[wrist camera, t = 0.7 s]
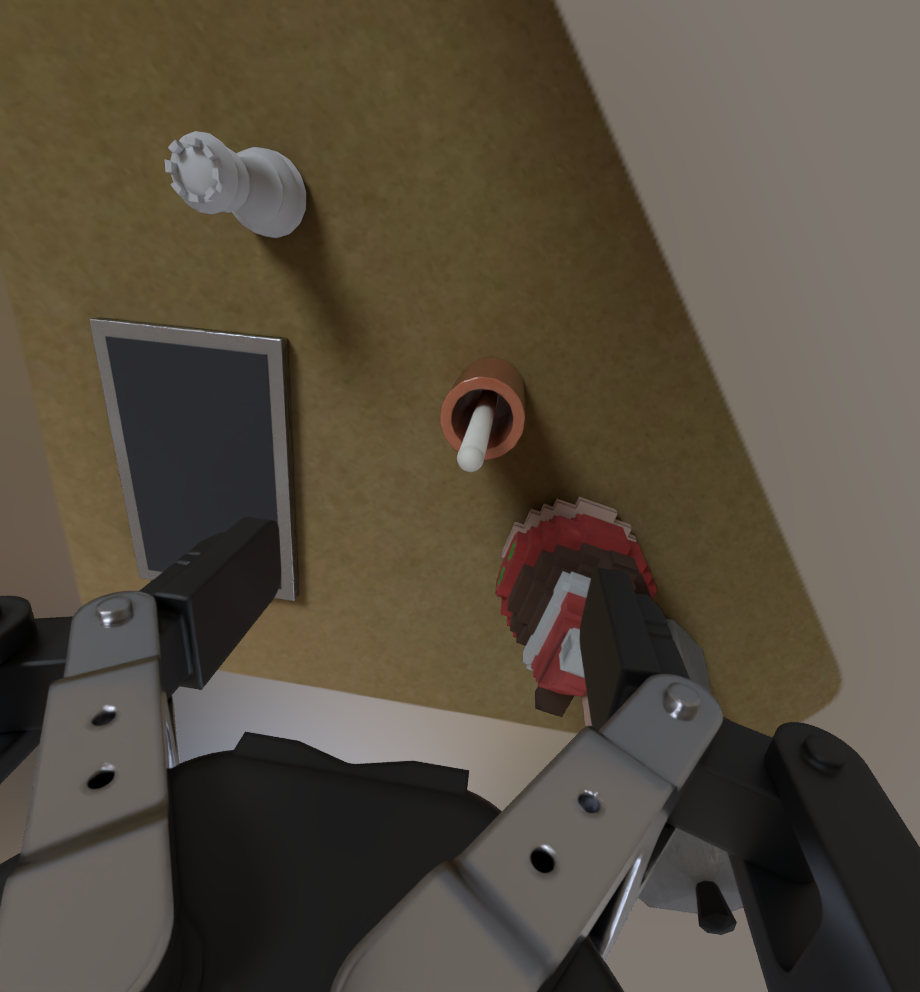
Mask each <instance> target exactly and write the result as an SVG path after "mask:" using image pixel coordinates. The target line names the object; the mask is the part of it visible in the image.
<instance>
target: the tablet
mask: <svg viewBox="0 0 920 992" xmlns="http://www.w3.org/2000/svg"><path fill="white" fill-rule="evenodd" d="M89 320H90V326H91V331H92V336H93V341H94V346H95V351H96V356H97V362H98V367H99V372H100V377H101V382H102V387H103V392H104V397H105V403H106V408H107V413H108V418H109V423H110V428H111V433H112V439H113V444H114V449H115V454H116V459H117V464H118V469H119V475H120V480H121V485H122V490H123V495H124V500H125V505H126V511H127V516H128V521H129V526H130V531H131V536H132V541H133V547H134V552H135V557H136V562H137V567H138V572H139V577H140V578H144V579H150V580H154V579H155V578H156V577H157V576H159V575H160V574H161V573H162V572H163V571H165V570H166V569H167V568H168V567H170V566H171V565H172V564H173V563H176V562H177V560H178V559H180V558H181V557H182V556H183V555H185V554H188V551H190V550H191V549H192V548H193V547H194V546H196V545H197V544H198V543H199V542H201V541H202V540H204V539H207V538H209V537H211V536H214V535H216V534H218V533H221V532H224V533H225V532H227V531H228V530H229V529H230V528H231V527H233V526H234V525H235V524H236V523H237V522H238V521H240V520H241V519H242V518H244V517H254V518H261V519H268V520H274V521H276V522H277V524H278V526H279V535H280V554H281V582H280V586H279V589H278V592H277V594H276V596H275V597H274V598H278V599H284V600H291V601H295V599H296V598H297V596H298V595H299V579H298V557H297V535H296V513H295V492H294V470H293V448H292V426H291V404H290V382H289V360H288V339H287V338H281V337H272V336H263V335H254V334H245V333H236V332H227V331H218V330H209V329H200V328H191V327H182V326H173V325H164V324H155V323H146V322H137V321H128V320H119V319H110V318H101V317H100V318H90V319H89Z"/></svg>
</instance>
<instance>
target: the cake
mask: <svg viewBox="0 0 920 992" xmlns="http://www.w3.org/2000/svg"><path fill="white" fill-rule="evenodd" d="M617 514H618V513H617V511H616V509H613V508H610V507H607V506H604V505H602V504H599V503H596V502H593V501H590V500H588V499H585V498H582V497H579V498H578V500H577V502H576V504H575V505H574V504H571V503H568V502H565V501H563V500H560V499H556V501H555V503H554V505H553V507H552V506H549V505H547V504H543V506H542V508H541V511H540V512H539V511H537V510H534V509H531V510H530V512H529V514H528V516H527V519H526V521H525V523H524V524H521V523H518V522H515V523H514V525H513V527H512V530H511V532H510V534H509V537H508V539H507V541H506V544H505V546H504V549H503V551H502V556H501V557H503V558H504V560H503V562H502V565H501V568H500V571H499V575H498V578H497V582H496V593H495V594H497V596H499V597H502V605H501V614H502V615H504V616H507V626H510V631H512V632H513V637H516V638H517V639H516V643H519V644H522V645H525V646H526V647H525V649H524V651H523V663H525V664H527V669H529V670H532V671H533V677H535V678H536V682H538V687H537V689H536V691H535V709H538V710H541V711H544V712H547V713H550V714H553V715H556V716H560V717H562V716H563V714H564V713H565V711H566V709H567V708H568V706H569V704H570V702H571V701H572V699H573V697H574V696H581V697H582V703H583V711H584V719H585V726H592V724H591V717H590V711H589V704H588V697H587V690H586V684H585V677H584V670H583V663H582V657H581V650H580V625H581V619H582V614H583V610H584V606H585V602H586V597H587V593H588V589H589V584H590V580H591V576H592V573H593V570H594V568H595V567H600V568H607V569H614V570H621V571H626V572H627V573H628V575H629V578H630V581H631V584H632V587H633V590H634V593H639V594H645V595H648V596H649V597H650V598H651V599H652V600H653V597H654V595H655V594H656V592H657V587H656V585H655V582H654V580H653V578H652V575H651V573H650V570H649V568H648V566H647V563H646V561H645V559H644V556H643V554H642V551H641V549H640V547H639V544H638V543H636V541H637V540H636V537H635V536H634V535H631V534H629V533H630V532H631V530H632V528H631V525H630V524H628V523H625V522H622V521H619V520H616V519H615V518H616V516H617ZM653 601H654V600H653Z"/></svg>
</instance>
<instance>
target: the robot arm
mask: <svg viewBox="0 0 920 992" xmlns="http://www.w3.org/2000/svg"><path fill="white" fill-rule="evenodd" d="M280 582H281V554H280V535H279V526H278V524H277V522H276V521H274V520H268V519H261V518H254V517H244V518H242V519H241V520H240V521H238V522H237V523H236V524H235V525H234V526H233V527H231V528H230V529H229V530H228V531H227V532H225V533H224V532H221V533H218V534H216V535H214V536H211V537H209V538H207V539H204V540H202V541H201V542H199V543H198V544H197V545H196V546H194V547H193V548H192V549H191V550H190V551H188V554H185V555H183V556H182V557H181V558H180V559H178V560H177V562H176V563H173V564H172V565H171V566H170V567H168V568H167V569H166V570H165V571H163V572H162V573H161V574H160V575H159V576H157V577H156V578H155V579H154V580H152V581H151V582H150V583H149V584H147V585H146V586H145V587H144V588H142V589H141V590H140V591H122V592H116V593H111V594H107V595H104V596H101V597H99V598H96V599H94V600H92V601H90V602H88V603H86V604H85V605H83V606H82V607H81V608H79V609H78V611H77V612H76V613H75V614H74V616H73V617H56V618H38V619H34V615H33V612H32V608H31V605H30V603H29V601H28V600H26V599H24V598H21V597H17V596H0V784H1V783H2V782H3V781H4V780H5V779H6V778H7V777H8V776H9V775H10V774H11V773H12V772H13V770H15V769H16V767H17V766H19V764H20V763H21V762H22V761H23V760H24V759H25V758H26V757H27V756H28V755H29V754H30V753H31V752H32V751H33V750H34V749H35V748H36V747H37V746H38V745H39V750H38V757H37V762H36V767H35V773H34V779H33V785H32V791H31V796H30V802H29V808H28V814H27V820H26V825H25V831H24V837H23V843H22V849H21V853H19V854H17V855H16V856H14V857H12V858H10V859H8V860H7V861H5V862H3V863H1V864H0V992H624V991H623V989H622V987H621V986H620V984H619V983H618V981H617V980H616V978H615V976H614V975H613V973H612V972H611V970H610V969H609V967H608V965H607V964H606V963H605V960H606V958H607V956H608V955H609V953H610V951H611V949H612V947H613V945H614V944H615V942H616V940H617V938H618V936H619V934H620V932H621V930H622V928H623V926H624V924H625V922H626V920H627V918H628V916H629V913H630V912H631V910H632V908H633V906H634V904H635V902H636V900H637V898H638V897H639V895H640V893H641V892H642V890H643V888H644V887H645V885H646V883H647V881H648V880H649V878H650V876H651V875H652V873H653V871H654V870H655V868H656V866H657V865H658V863H659V861H660V859H661V858H662V856H663V854H664V853H665V851H666V849H667V848H668V846H669V844H670V842H671V841H672V839H673V837H674V836H675V834H676V832H677V831H678V829H680V830H682V831H684V832H686V833H688V834H691V835H693V836H695V837H697V838H699V839H701V840H703V841H705V842H707V843H709V844H711V845H713V846H715V847H718V848H720V849H722V850H724V851H726V852H727V853H728V857H729V860H730V863H731V867H732V870H733V874H734V877H735V880H736V884H737V887H738V891H739V894H740V897H741V901H742V904H743V908H744V911H745V914H746V918H747V921H748V925H749V928H750V931H751V935H752V938H753V942H754V945H755V948H756V952H757V955H758V959H759V962H760V965H761V969H762V972H763V975H764V978H765V982H766V986H767V989H768V992H920V847H919V846H918V844H917V842H916V841H915V839H914V838H913V836H912V834H911V833H910V831H909V830H908V828H907V827H906V825H905V823H904V822H903V820H902V819H901V817H900V816H899V814H898V812H897V811H896V809H895V808H894V806H893V805H892V803H891V802H890V800H889V798H888V797H887V796H886V794H885V792H884V791H883V789H882V787H881V786H880V784H879V783H878V781H877V780H876V778H875V776H874V775H873V773H872V772H871V770H870V769H869V767H868V765H867V764H866V763H865V761H864V760H863V759H862V758H861V757H860V756H859V754H858V753H857V752H856V751H854V750H853V749H852V748H851V747H850V746H849V745H847V744H846V743H845V742H844V741H842V740H841V739H839V738H837V737H836V736H834V735H832V734H831V733H829V732H827V731H824V730H823V729H820V728H818V727H815V726H812V725H809V724H805V723H798V722H790V723H785V724H782V725H781V726H779V727H778V728H777V730H776V732H775V734H774V736H773V738H772V737H769V736H767V735H764V734H762V733H759V732H757V731H754V730H752V729H749V728H746V727H744V726H741V725H739V724H737V723H734V722H732V721H730V720H728V719H726V718H725V717H723V712H722V709H721V707H720V705H719V703H718V702H717V700H716V699H715V698H714V697H713V696H712V695H711V694H710V693H709V692H708V691H707V690H706V689H704V688H703V687H702V686H700V685H698V684H697V683H695V682H693V681H691V680H690V677H689V675H688V672H687V670H686V668H685V665H684V663H683V660H682V658H681V655H680V653H679V651H678V648H677V646H676V643H675V641H674V640H673V639H672V637H673V636H672V634H671V631H670V629H669V627H667V621H666V619H665V617H664V614H663V612H662V609H661V608H660V607H659V606H658V605H657V604H656V603H655V602H654V601H653V600H652V599H651V598H650V597H649V596H648V595H645V594H639V593H634V590H633V587H632V584H631V581H630V578H629V575H628V573H627V572H626V571H621V570H614V569H607V568H600V567H595V568H594V570H593V573H592V576H591V580H590V584H589V589H588V593H587V597H586V602H585V606H584V610H583V614H582V619H581V625H580V650H581V657H582V663H583V670H584V677H585V684H586V690H587V697H588V704H589V711H590V717H591V724H592V726H586V727H585V728H583V729H582V730H581V731H580V732H579V733H578V734H577V735H576V736H575V737H574V738H573V739H572V740H571V741H570V742H569V743H568V745H566V746H565V748H563V750H562V751H561V752H560V753H559V754H558V755H557V756H556V757H555V758H554V759H553V760H552V761H551V762H550V763H549V764H548V765H547V766H546V767H545V768H544V769H543V770H542V771H541V772H540V773H539V774H538V775H537V776H536V777H535V778H534V779H533V780H532V781H531V782H530V783H529V785H527V787H526V788H525V789H524V790H523V791H522V792H521V793H520V794H519V795H518V796H517V797H516V798H515V799H514V800H513V801H512V802H511V803H510V804H509V805H508V806H507V807H506V808H505V809H504V810H503V811H501V810H499V809H498V808H497V807H495V806H494V805H493V804H492V803H490V802H489V801H487V800H486V799H484V798H482V797H481V796H479V795H477V794H475V793H473V792H470V791H468V790H467V786H468V777H469V770H463V769H458V768H452V767H446V766H441V765H435V764H429V763H423V762H418V761H400V762H383V763H365V764H351V763H347V762H344V761H342V760H340V759H338V758H335V757H333V756H331V755H329V754H327V753H324V752H322V751H320V750H318V749H316V748H313V747H311V746H309V745H307V744H305V743H302V742H300V741H297V740H290V739H285V738H279V737H273V736H267V735H262V734H256V733H250V732H245V733H244V735H243V736H242V738H241V739H240V741H239V743H238V744H237V746H236V747H235V749H234V750H230V751H222V752H217V753H211V754H207V755H203V756H200V757H197V758H194V759H191V760H188V761H185V762H183V763H180V760H179V750H178V742H177V741H178V740H177V731H176V721H175V712H174V703H173V697H172V694H173V693H174V692H175V691H176V690H177V689H178V687H179V686H182V687H188V688H194V689H199V690H202V689H203V687H204V686H205V685H206V684H207V682H208V681H209V680H210V679H211V677H212V676H213V675H214V674H215V672H216V671H217V670H218V668H219V667H220V666H221V665H222V663H223V662H224V661H225V660H226V658H227V657H228V656H229V655H230V653H231V652H232V651H233V649H234V648H235V647H236V646H237V644H238V643H239V642H240V641H241V639H242V638H243V637H244V636H245V634H246V633H247V632H248V630H249V629H250V628H251V627H252V625H253V624H254V623H255V622H256V620H257V619H258V618H259V617H260V615H261V614H262V613H263V611H264V610H265V609H266V608H267V606H268V605H269V604H270V603H271V601H272V600H273V599H274V597H275V596H276V594H277V592H278V589H279V586H280Z"/></svg>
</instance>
